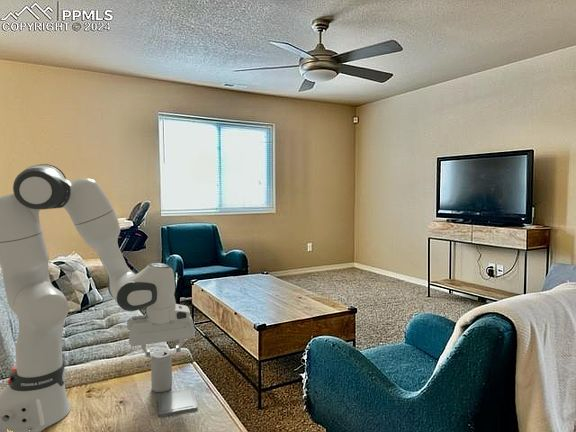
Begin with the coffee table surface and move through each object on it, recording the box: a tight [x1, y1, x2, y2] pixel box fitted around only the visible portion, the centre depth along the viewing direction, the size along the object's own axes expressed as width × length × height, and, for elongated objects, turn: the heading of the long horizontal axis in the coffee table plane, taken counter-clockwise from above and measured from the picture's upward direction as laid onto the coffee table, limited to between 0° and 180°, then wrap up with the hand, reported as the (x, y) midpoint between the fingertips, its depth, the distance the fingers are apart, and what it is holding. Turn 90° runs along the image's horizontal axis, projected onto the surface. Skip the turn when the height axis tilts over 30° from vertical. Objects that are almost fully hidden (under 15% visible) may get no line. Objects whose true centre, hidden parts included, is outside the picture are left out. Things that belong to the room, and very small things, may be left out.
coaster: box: [157, 387, 198, 418], centre depth 120 cm, size 11×11×1 cm
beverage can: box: [150, 349, 173, 393], centre depth 128 cm, size 6×6×12 cm
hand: (163, 353), depth 127 cm, fingers open, 8 cm apart
